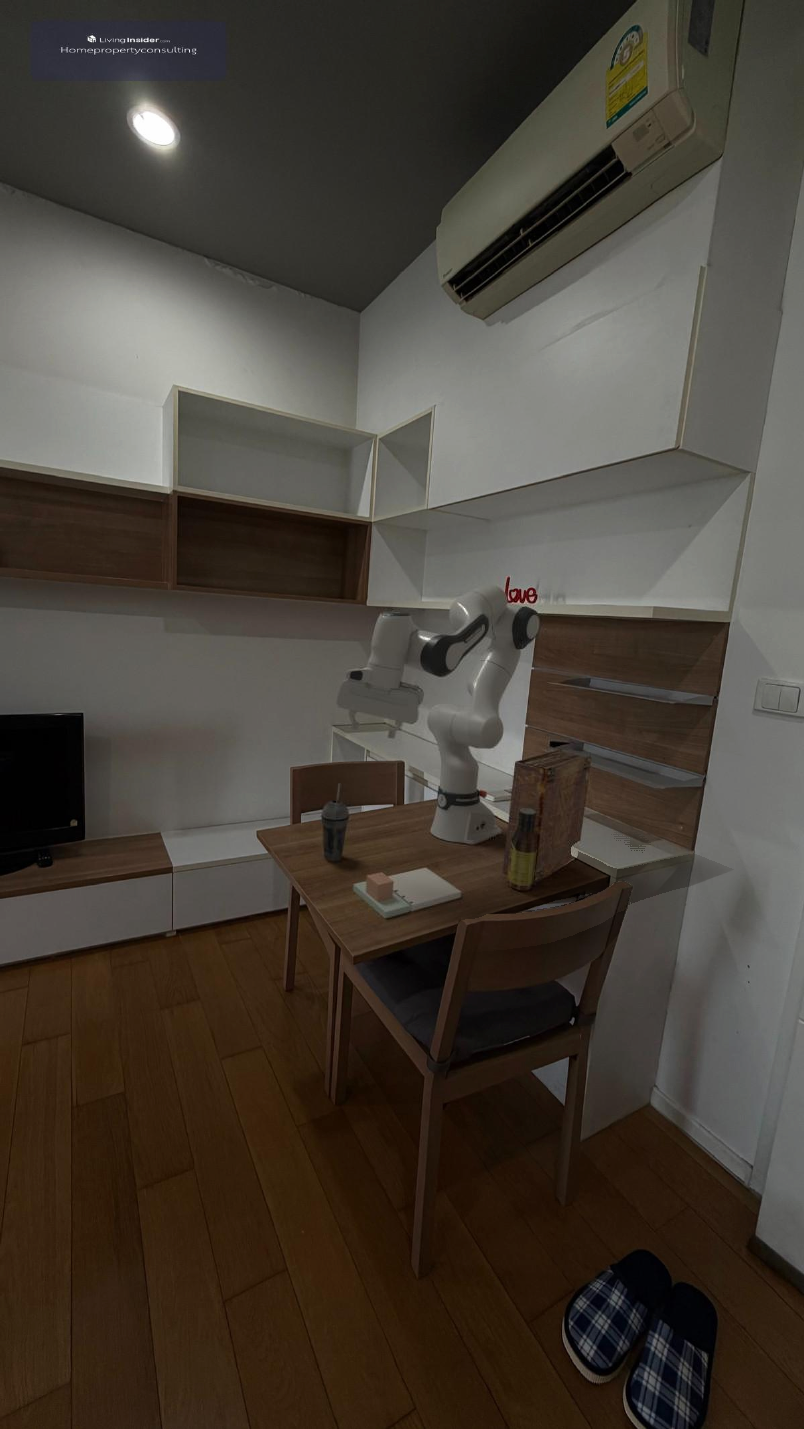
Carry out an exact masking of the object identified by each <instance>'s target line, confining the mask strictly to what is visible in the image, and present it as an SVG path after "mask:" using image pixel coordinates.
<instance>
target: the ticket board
mask: <svg viewBox="0 0 804 1429" xmlns="http://www.w3.org/2000/svg"><path fill="white" fill-rule="evenodd" d="M387 877H389V878H390V879H391V880H393V881H394V883H393V892H394V893H395V894H396V895H398V896H399V897H400V898H401V899H403V900H404V901H405V902H406V903H408V904H409V905H410V911H411V912H414V911H418V910H421V909H424V908H428V907H431V906H435V905H439V904H442V903H445V902H449V901H452V900H457V899H460V898H461V897H462V891H461V890H460V889H458V888H456V887H455V886H454V885H453V884H451V883H449V882H448V881H447V880H445V879H444V878H441V877H440V876H439V875H438V874H436V873H435V872H434V871H432V870H430V869H429V868H427V867H422V868H417V869H414V870H410V871H405V872H401V873H397V874H393V875H388V876H387Z"/></svg>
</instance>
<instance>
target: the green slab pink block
mask: <svg viewBox="0 0 804 1429" xmlns="http://www.w3.org/2000/svg"><path fill="white" fill-rule="evenodd" d="M393 883H394V881H393V880H391V879H390V878H389V877H388V876H387V875H386V874H385V873H383V872H382V871H381V872H377V873H372V874H368V875H366V880H365V881H361V882H358V883H357V882H356V883H354V884H353V885H352V886H353V887H352V891H353V892H354V893H356V894H357V896H359V897H360V898H361V899H362V900H364V901H365V902H366V904H368V905H369V906H370V907H371V908H372V909H373V910H374V911H376V912H377V913H378V914H379V915H380V916H381V917H383V918H384V919H388V918H393V917H395V916H399V915H403V914H406V913H409V912H410V911H411V910H410V905H409V904H408V903H406V902H405V901H404V900H403V899H401V898H400V897H399V896H398V895H396V894H395V893H394V892H393Z"/></svg>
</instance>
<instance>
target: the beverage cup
mask: <svg viewBox="0 0 804 1429" xmlns="http://www.w3.org/2000/svg"><path fill="white" fill-rule="evenodd" d="M340 789H341V783H338V785H337V793H336V799H335V800H331V801H328V802H326V804H324V807H323V809H322V811H321V816H320V818H321V823H322V824H321V825H322V837H323V838H322V840H323V841H322V843H323V854H324V856H323V857H324V858H323V859H325V860H326V861H328V862H339V861H341V860H342V856H343V853H344V852H343V851H344V844H345V838H346V832H347V825H348V823H349V818H350V813H349V809H348V807H347V805H346V804H345V803H344V802H342V801H341V800H340V798H339V797H340V793H341V792H340Z"/></svg>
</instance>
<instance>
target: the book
mask: <svg viewBox="0 0 804 1429" xmlns="http://www.w3.org/2000/svg"><path fill="white" fill-rule="evenodd" d="M591 762H592V755H587V756H582V755H577V754H572V753H569V752H564V751H563V749H562V748H559V749H555V750H552V751H548V752H545V753H541V754H537V755H535V756H531V757H527V758H524V759H520V760H517V761H515V762H514V768H513V775H512V776H513V777H512V786H511V796H510V805H509V813H508V821H507V822H508V823H507V831H506V840H505V841H506V842H505V848H504V858H503V859H504V860H503V866H502V867H503V869H502V873H504V874H507V875H508V869H509V860H510V850H511V841H512V837H513V835H514V833H515V831H516V829H517V828H518V824H519V810H520V809H522V808H528V809H533V810H535V811H536V818H535V821H534V829H533V830H534V832H535V834H536V836H537V852H536V861H535V870H534V878H533V882H532V886H533V885H534V886H535V885H536V884H538V883H540V882H541V881H543V880H545V879H546V878H548V877H549V875H550V876H551V875H553V874H555V873H556V872H558V871H559V870H558V869H559V868H560V867H562V866H563V865H564V864H565V863H567V862H568V861H569V860H570V859H572V855H571V847H572V845H574V844H575V843H577V842H578V841H580V842H581V839H582V838H581V837H582V830H583V824H584V822H583V821H584V817H585V816H584V814H585V806H586V799H587V793H588V785H589V778H590V771H591ZM557 870H558V871H557ZM555 871H556V872H555ZM554 872H555V873H554ZM552 873H553V874H552Z"/></svg>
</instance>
